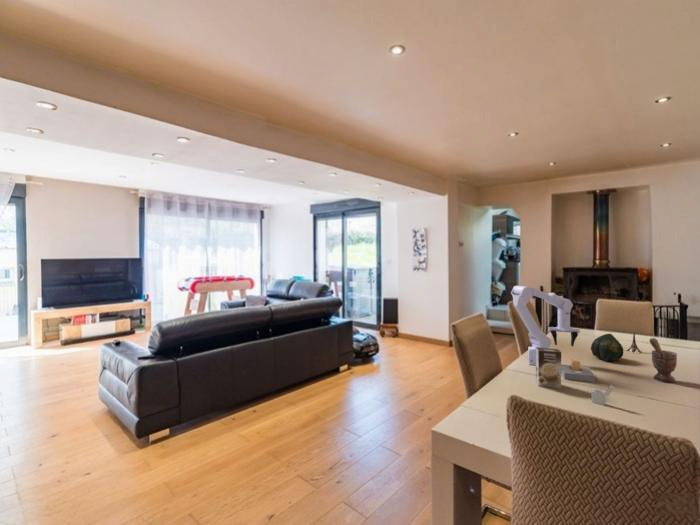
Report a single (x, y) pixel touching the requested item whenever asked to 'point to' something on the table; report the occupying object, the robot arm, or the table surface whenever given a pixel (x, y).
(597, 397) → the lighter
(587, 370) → the grey flat block
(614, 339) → the squash
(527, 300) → the robot arm
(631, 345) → the eiffel tower figurine
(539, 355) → the coffee box
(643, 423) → the table surface
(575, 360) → the plug
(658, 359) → the mortar and pestle
